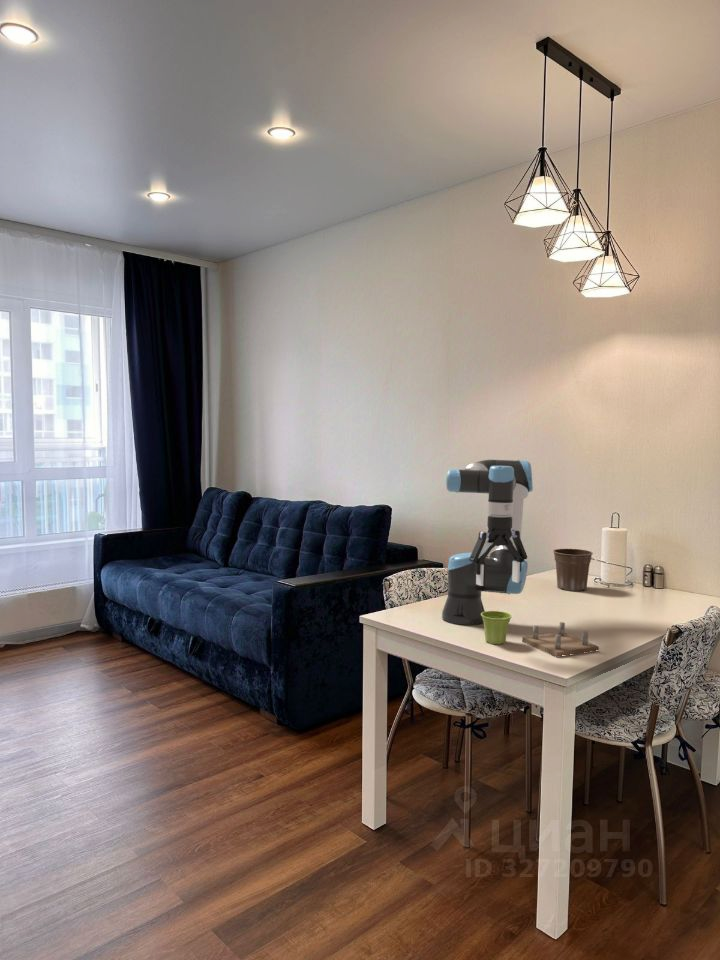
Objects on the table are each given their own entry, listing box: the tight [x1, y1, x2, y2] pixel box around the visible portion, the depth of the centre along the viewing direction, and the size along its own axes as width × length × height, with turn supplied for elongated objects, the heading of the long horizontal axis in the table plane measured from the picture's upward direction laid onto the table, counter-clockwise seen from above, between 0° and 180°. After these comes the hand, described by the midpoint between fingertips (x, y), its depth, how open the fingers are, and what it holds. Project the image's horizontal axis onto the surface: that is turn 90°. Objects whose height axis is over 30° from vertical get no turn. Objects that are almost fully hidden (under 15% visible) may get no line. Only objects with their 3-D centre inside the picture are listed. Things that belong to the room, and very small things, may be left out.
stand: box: [521, 621, 600, 657], centre depth 207 cm, size 16×16×6 cm
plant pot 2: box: [552, 548, 594, 592], centre depth 290 cm, size 16×16×16 cm
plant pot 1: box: [481, 610, 513, 645], centre depth 210 cm, size 9×9×9 cm
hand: (497, 583), depth 210 cm, fingers open, 13 cm apart
